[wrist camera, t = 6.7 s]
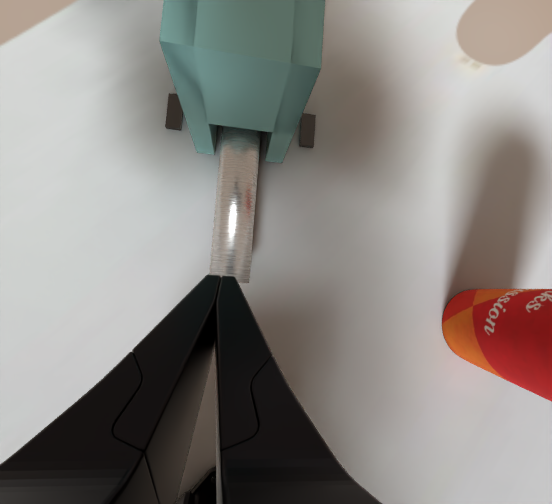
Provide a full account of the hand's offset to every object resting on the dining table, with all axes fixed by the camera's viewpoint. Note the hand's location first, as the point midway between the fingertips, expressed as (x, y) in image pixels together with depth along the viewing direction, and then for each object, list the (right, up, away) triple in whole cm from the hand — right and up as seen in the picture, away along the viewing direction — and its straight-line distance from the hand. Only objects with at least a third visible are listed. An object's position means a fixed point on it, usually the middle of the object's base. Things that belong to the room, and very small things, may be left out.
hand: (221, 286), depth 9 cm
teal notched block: (-1, +11, +12) cm, 16 cm away
